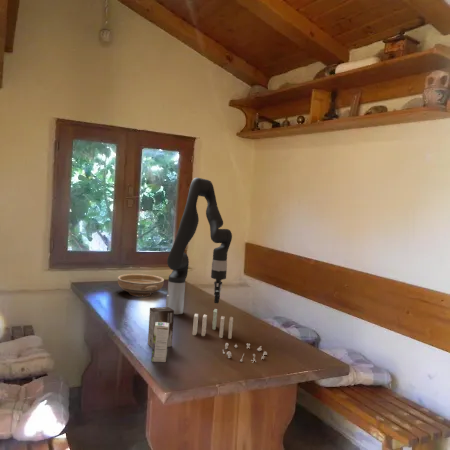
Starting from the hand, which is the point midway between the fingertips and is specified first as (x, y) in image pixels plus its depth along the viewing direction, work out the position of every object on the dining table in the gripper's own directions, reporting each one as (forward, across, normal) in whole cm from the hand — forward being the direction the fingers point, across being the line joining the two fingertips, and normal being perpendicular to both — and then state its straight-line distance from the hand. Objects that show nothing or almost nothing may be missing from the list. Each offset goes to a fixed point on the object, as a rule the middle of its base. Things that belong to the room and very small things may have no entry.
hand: (216, 301), depth 240 cm
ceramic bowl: (+13, -57, -50) cm, 77 cm away
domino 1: (+14, +12, -9) cm, 20 cm away
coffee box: (+14, +33, -22) cm, 42 cm away
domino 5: (+14, +12, +8) cm, 20 cm away
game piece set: (+15, +34, +15) cm, 40 cm away
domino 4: (+14, +12, +4) cm, 19 cm away
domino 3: (+14, 0, 0) cm, 14 cm away
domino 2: (+14, +12, -5) cm, 19 cm away
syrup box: (+14, +50, -19) cm, 55 cm away
